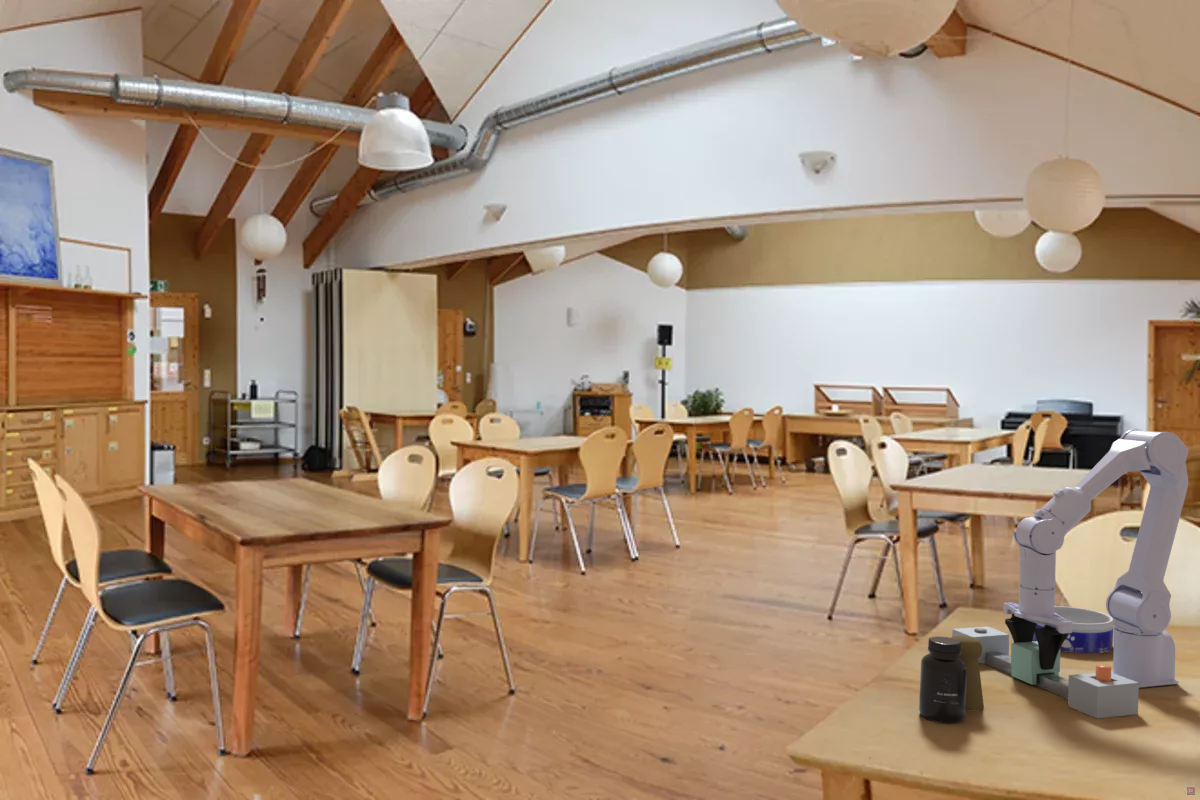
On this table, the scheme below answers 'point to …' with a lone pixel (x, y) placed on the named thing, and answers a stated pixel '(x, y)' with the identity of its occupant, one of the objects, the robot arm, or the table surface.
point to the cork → (972, 671)
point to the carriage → (1029, 662)
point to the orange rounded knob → (1103, 673)
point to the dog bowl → (1085, 630)
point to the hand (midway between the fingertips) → (1035, 664)
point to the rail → (1042, 679)
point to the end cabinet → (1103, 695)
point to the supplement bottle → (943, 681)
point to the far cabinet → (987, 640)
